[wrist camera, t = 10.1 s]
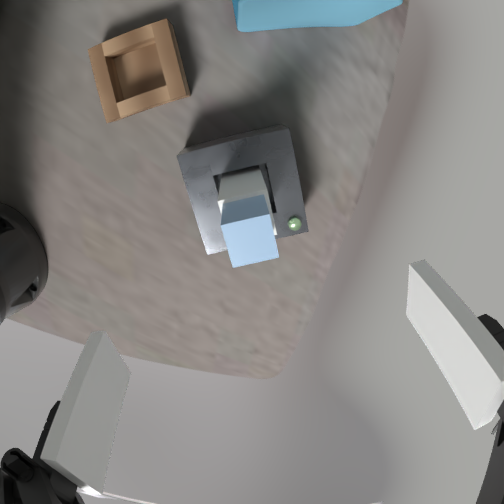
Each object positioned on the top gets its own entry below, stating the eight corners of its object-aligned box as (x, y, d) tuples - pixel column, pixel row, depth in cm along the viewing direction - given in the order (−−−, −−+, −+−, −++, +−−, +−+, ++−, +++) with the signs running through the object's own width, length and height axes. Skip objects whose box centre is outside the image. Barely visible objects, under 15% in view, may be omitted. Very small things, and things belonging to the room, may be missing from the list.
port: (210, 235, 35) (207, 256, 31) (184, 147, 31) (176, 156, 26) (299, 214, 35) (309, 233, 30) (281, 124, 30) (289, 129, 26)
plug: (230, 206, 32) (229, 272, 21) (221, 172, 31) (214, 222, 19) (265, 197, 32) (284, 260, 21) (258, 163, 30) (273, 208, 19)
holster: (117, 120, 29) (106, 123, 26) (99, 52, 25) (87, 49, 23) (190, 95, 28) (186, 95, 26) (172, 25, 25) (166, 18, 22)
